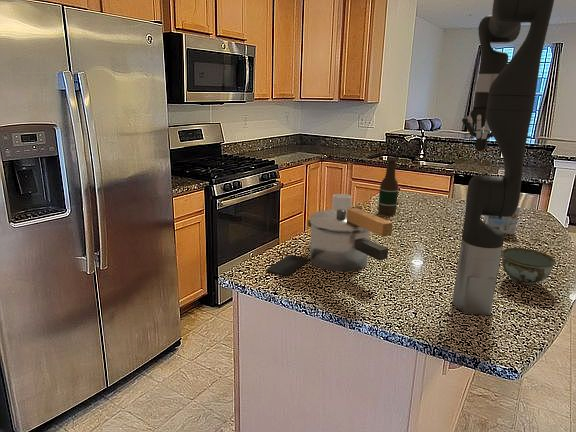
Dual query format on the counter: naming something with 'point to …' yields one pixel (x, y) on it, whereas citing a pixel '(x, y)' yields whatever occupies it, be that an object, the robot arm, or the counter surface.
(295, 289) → the counter surface
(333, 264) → the pot
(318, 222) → the lid
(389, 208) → the beer bottle
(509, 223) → the light bulb box
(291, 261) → the phone
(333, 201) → the drinking glass
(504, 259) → the bowl
